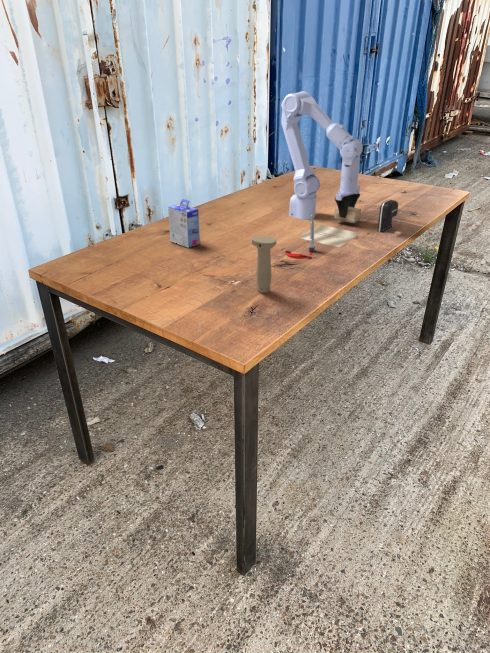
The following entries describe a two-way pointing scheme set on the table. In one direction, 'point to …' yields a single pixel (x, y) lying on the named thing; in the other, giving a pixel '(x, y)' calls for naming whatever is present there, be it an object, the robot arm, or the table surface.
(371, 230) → the table surface
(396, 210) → the battery charger
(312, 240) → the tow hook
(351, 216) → the block
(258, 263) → the handle
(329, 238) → the beige square mat
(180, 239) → the ink cartridge box
